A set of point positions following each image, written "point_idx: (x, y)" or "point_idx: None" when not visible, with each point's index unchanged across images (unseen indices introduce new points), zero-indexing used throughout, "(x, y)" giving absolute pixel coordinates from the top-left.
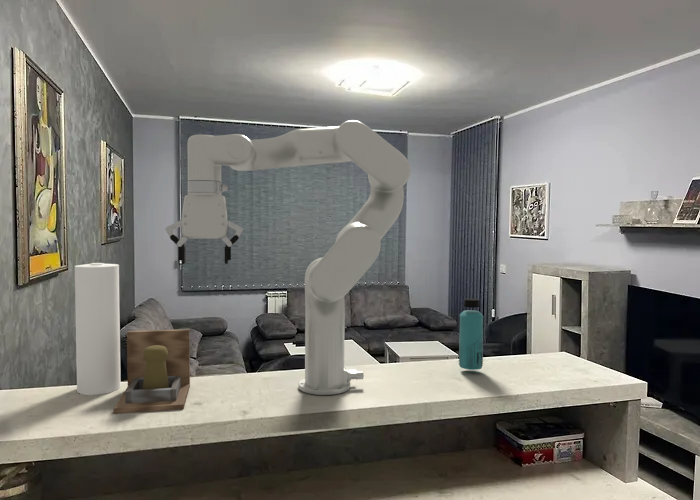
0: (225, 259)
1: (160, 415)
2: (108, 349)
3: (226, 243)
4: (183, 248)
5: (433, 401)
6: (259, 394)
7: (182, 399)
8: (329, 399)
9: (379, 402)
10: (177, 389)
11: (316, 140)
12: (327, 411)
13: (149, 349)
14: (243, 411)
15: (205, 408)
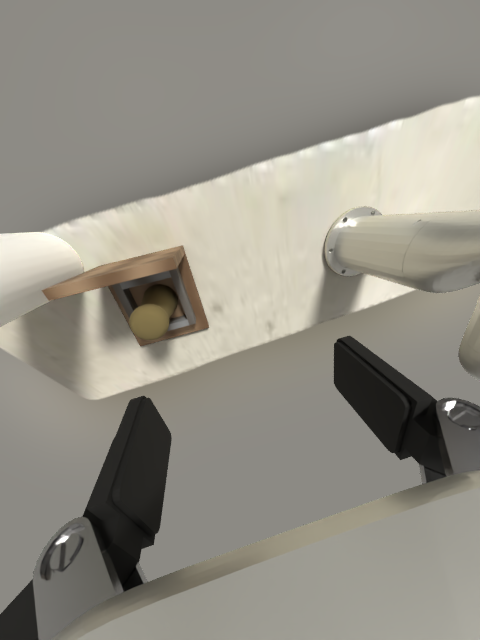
0: (348, 397)
1: (192, 342)
2: (38, 301)
3: (427, 477)
4: (155, 529)
5: None
6: (279, 273)
7: (201, 314)
8: (349, 284)
9: (392, 289)
10: (191, 308)
11: None
12: (341, 316)
13: (145, 339)
14: (268, 324)
15: (230, 321)
